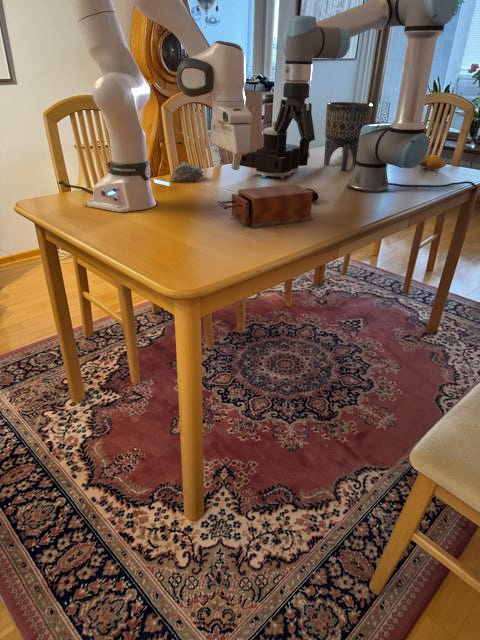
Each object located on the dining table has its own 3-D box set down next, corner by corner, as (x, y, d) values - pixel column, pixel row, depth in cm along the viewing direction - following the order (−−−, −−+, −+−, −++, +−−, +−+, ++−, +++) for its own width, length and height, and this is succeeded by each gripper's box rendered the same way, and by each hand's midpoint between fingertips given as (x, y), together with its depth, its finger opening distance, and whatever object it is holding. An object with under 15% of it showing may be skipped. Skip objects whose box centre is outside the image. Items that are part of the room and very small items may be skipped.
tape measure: (298, 204, 156) (299, 193, 154) (293, 198, 161) (294, 187, 159) (317, 203, 156) (319, 192, 155) (312, 198, 162) (313, 187, 160)
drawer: (226, 227, 131) (226, 204, 127) (214, 217, 138) (214, 195, 135) (299, 217, 140) (301, 195, 136) (284, 209, 147) (285, 188, 144)
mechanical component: (240, 120, 182) (283, 115, 202) (239, 174, 192) (280, 164, 212) (283, 126, 170) (325, 120, 190) (280, 183, 180) (320, 171, 200)
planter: (313, 167, 208) (319, 103, 195) (331, 160, 222) (338, 101, 209) (353, 173, 199) (362, 107, 185) (369, 166, 213) (379, 104, 199)
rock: (196, 175, 189) (195, 159, 185) (208, 179, 183) (208, 163, 180) (168, 180, 181) (167, 163, 178) (181, 184, 176) (180, 167, 172)
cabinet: (252, 227, 134) (253, 198, 129) (237, 217, 142) (238, 189, 138) (310, 219, 141) (313, 191, 137) (292, 210, 149) (294, 183, 145)
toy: (420, 162, 205) (414, 155, 217) (422, 176, 207) (416, 168, 220) (446, 154, 201) (438, 147, 214) (448, 168, 204) (440, 161, 217)
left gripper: (204, 109, 128) (206, 160, 135) (232, 116, 112) (232, 174, 119) (225, 108, 130) (225, 158, 137) (255, 115, 114) (254, 172, 121)
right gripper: (265, 79, 135) (262, 154, 146) (308, 84, 116) (300, 170, 126) (288, 80, 138) (283, 153, 149) (333, 84, 118) (323, 168, 129)
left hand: (229, 166), depth 128 cm, fingers open, 8 cm apart
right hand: (291, 161), depth 137 cm, fingers open, 13 cm apart
